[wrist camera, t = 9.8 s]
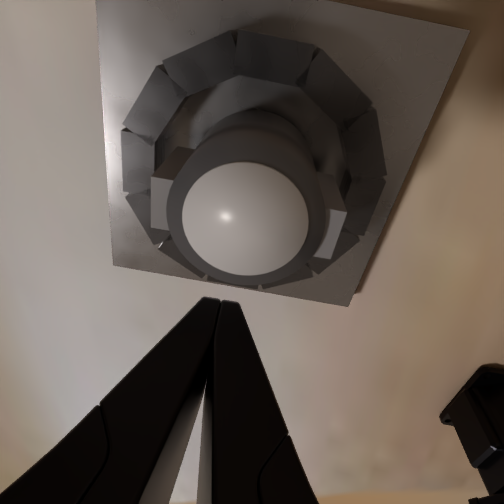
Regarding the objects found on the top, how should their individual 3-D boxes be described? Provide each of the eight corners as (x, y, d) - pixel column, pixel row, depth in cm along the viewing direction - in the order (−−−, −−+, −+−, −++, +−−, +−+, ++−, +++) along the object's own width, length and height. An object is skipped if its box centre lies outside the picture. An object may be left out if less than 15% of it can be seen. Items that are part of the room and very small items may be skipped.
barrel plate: (458, 30, 14) (492, 30, 11) (345, 295, 21) (353, 326, 19) (104, -45, 13) (69, -60, 11) (119, 255, 21) (101, 282, 18)
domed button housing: (342, 126, 15) (367, 165, 10) (308, 235, 18) (318, 300, 14) (186, 96, 15) (147, 124, 10) (179, 212, 18) (147, 271, 13)
